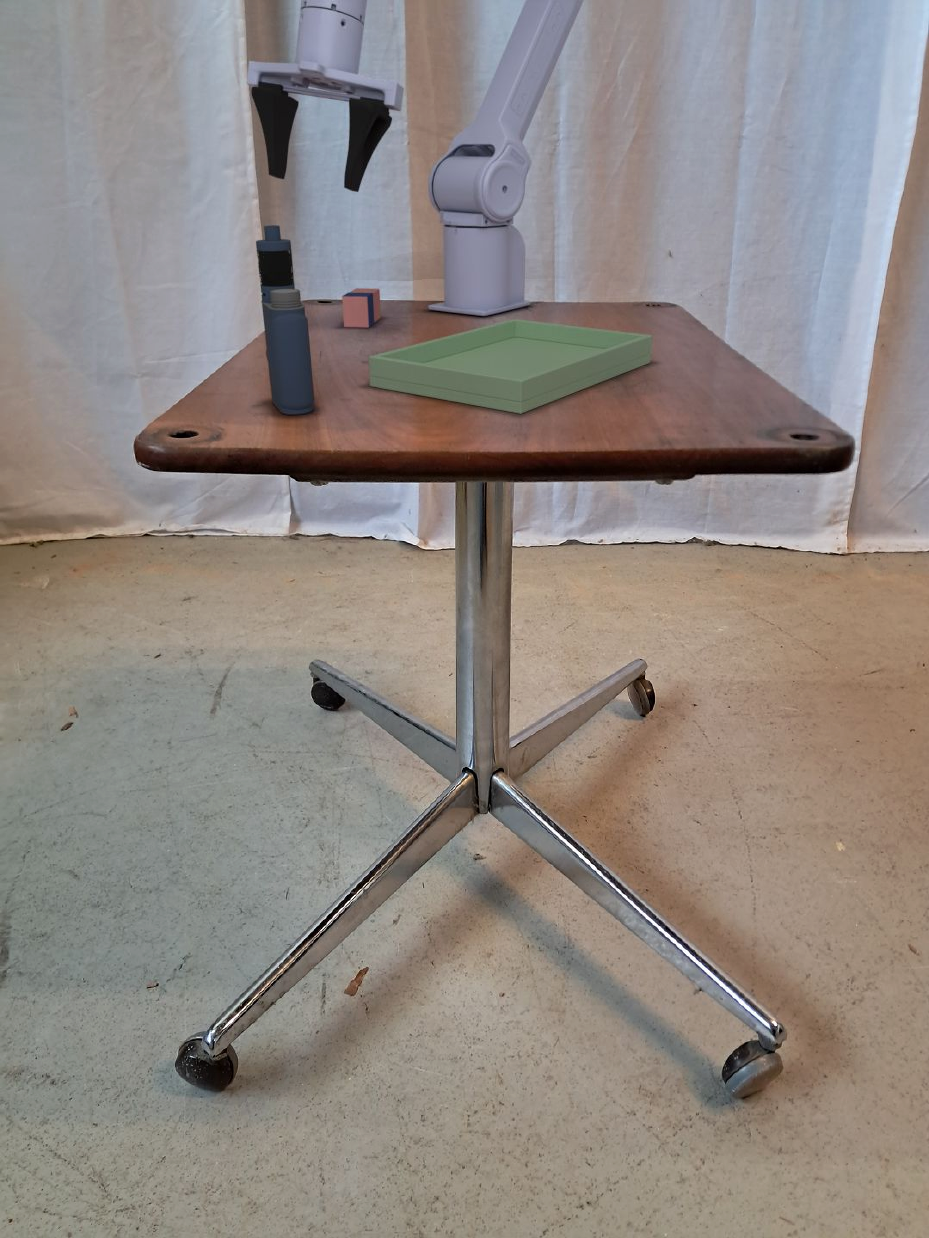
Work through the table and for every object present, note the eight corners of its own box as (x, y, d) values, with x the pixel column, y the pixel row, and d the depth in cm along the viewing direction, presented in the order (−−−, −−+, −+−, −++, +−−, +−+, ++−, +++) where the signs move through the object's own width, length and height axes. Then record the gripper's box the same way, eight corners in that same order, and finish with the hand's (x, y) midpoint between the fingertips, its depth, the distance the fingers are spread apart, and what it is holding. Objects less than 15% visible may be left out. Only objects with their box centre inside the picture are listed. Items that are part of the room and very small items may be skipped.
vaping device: (302, 396, 69) (287, 224, 63) (318, 413, 65) (303, 230, 59) (268, 400, 68) (249, 225, 63) (282, 417, 64) (263, 231, 58)
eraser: (357, 317, 99) (355, 287, 98) (381, 318, 99) (380, 288, 98) (343, 327, 94) (341, 296, 93) (369, 328, 94) (367, 296, 92)
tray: (513, 344, 86) (513, 318, 85) (650, 362, 78) (652, 335, 77) (369, 386, 72) (368, 356, 71) (520, 414, 64) (521, 381, 63)
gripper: (237, -7, 79) (223, 163, 84) (394, 14, 77) (370, 188, 81) (273, 20, 86) (258, 177, 90) (418, 40, 83) (395, 200, 88)
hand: (313, 183), depth 86 cm, fingers open, 7 cm apart
